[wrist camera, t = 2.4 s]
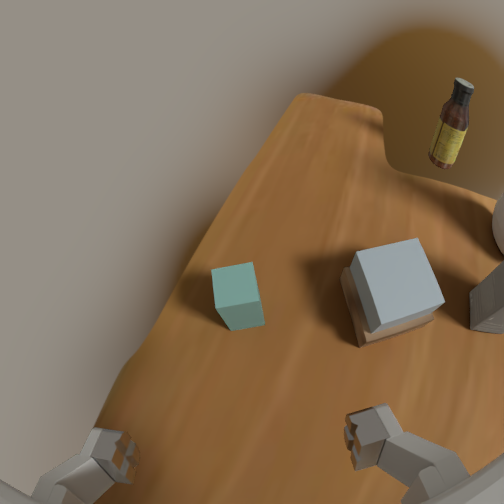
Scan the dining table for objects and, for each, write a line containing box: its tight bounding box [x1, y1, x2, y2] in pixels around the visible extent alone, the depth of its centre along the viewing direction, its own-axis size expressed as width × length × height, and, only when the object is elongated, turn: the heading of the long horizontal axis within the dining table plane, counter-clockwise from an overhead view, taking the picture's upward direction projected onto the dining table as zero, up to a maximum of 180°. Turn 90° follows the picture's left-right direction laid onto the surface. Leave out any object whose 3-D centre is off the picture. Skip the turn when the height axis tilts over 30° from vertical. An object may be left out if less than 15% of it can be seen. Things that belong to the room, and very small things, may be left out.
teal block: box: [211, 262, 265, 331], centre depth 33 cm, size 4×4×9 cm
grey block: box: [350, 238, 445, 334], centre depth 31 cm, size 9×9×4 cm
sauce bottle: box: [429, 78, 474, 169], centre depth 40 cm, size 7×6×20 cm
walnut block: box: [339, 266, 434, 348], centre depth 34 cm, size 10×10×4 cm
